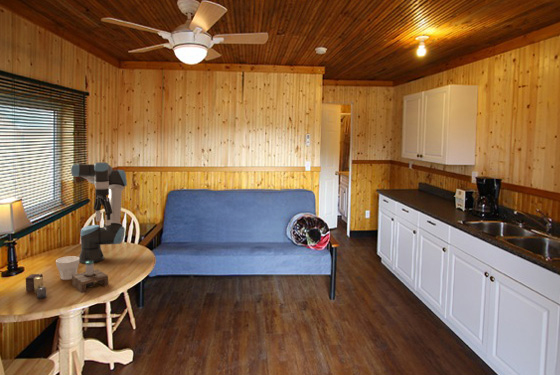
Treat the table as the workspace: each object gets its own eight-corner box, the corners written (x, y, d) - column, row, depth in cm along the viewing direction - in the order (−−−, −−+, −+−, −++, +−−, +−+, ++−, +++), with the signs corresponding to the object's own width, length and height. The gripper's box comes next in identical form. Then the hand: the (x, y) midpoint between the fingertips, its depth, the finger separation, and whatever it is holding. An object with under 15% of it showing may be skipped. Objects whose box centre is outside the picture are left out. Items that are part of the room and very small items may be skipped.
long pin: (85, 285, 215) (84, 261, 213) (92, 283, 218) (91, 259, 216) (88, 287, 212) (87, 263, 210) (95, 285, 215) (94, 261, 213)
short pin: (36, 297, 198) (35, 288, 197) (44, 295, 201) (44, 286, 200) (38, 299, 195) (38, 290, 194) (47, 297, 198) (46, 288, 197)
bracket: (72, 285, 214) (71, 275, 214) (97, 278, 225) (97, 269, 224) (82, 292, 205) (81, 282, 204) (108, 285, 216) (107, 275, 215)
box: (32, 286, 211) (31, 273, 210) (43, 286, 212) (42, 273, 211) (25, 291, 205) (25, 278, 204) (37, 291, 206) (36, 278, 205)
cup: (63, 282, 217) (62, 264, 216) (52, 278, 224) (51, 260, 222) (84, 276, 228) (84, 258, 226) (73, 271, 234) (72, 254, 233)
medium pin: (33, 292, 204) (32, 278, 203) (42, 290, 207) (41, 276, 206) (36, 294, 201) (35, 280, 200) (44, 292, 204) (43, 278, 203)
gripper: (86, 186, 232) (88, 220, 235) (104, 191, 216) (106, 227, 219) (99, 185, 237) (100, 218, 240) (117, 190, 221) (118, 225, 224)
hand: (103, 223), depth 229 cm, fingers open, 13 cm apart
